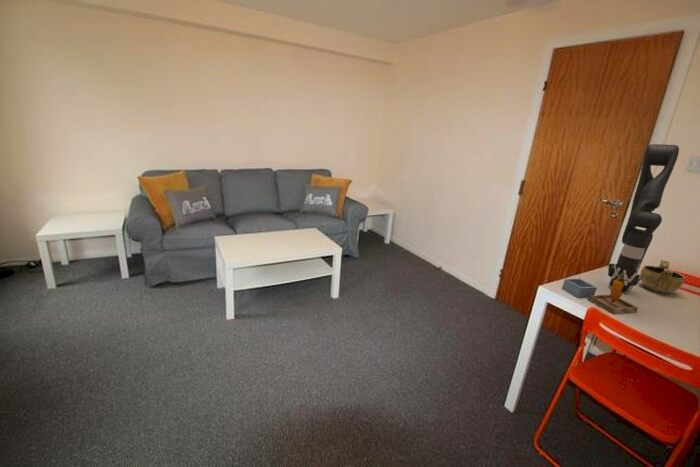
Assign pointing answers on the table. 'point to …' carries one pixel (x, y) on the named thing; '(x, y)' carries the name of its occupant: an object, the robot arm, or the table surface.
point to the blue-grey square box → (579, 288)
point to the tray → (612, 304)
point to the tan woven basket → (661, 278)
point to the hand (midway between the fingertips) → (617, 289)
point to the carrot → (617, 288)
